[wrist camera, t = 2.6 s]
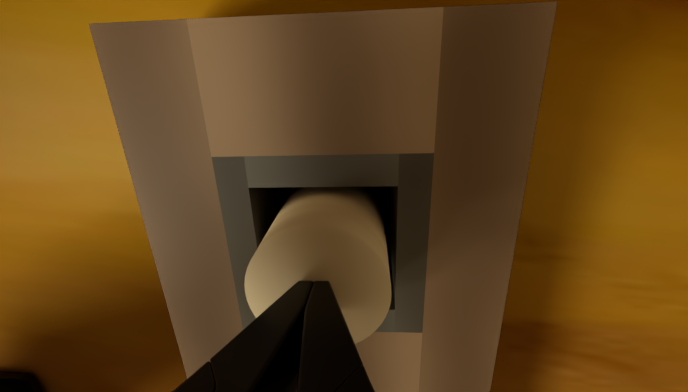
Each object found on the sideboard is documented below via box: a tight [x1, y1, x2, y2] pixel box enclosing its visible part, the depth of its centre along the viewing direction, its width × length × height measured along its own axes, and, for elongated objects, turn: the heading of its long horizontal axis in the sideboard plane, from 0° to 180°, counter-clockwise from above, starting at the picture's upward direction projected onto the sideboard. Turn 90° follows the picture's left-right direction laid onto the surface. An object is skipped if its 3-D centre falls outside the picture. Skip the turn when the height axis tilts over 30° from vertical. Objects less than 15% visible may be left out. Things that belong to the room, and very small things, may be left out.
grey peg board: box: [89, 1, 557, 392], centre depth 16 cm, size 12×26×5 cm, turn 2°
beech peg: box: [244, 186, 392, 344], centre depth 11 cm, size 4×4×5 cm
